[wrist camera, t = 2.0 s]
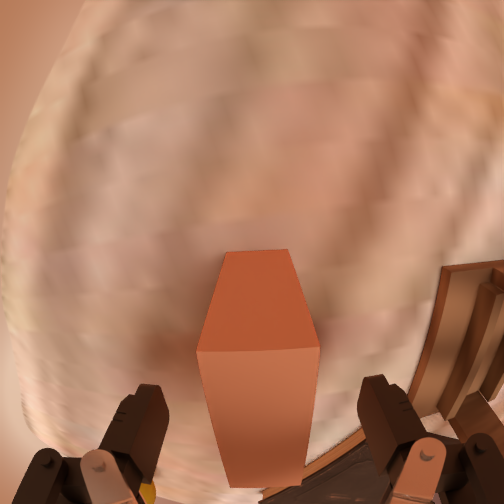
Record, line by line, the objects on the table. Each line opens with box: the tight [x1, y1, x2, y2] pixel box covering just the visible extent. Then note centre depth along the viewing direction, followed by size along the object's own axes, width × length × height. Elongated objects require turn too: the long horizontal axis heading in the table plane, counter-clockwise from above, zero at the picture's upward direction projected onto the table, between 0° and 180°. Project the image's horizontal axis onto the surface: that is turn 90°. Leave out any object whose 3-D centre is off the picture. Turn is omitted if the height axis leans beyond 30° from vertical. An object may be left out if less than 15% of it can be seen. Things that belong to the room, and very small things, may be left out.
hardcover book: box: [258, 428, 461, 504], centre depth 21 cm, size 16×23×2 cm
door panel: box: [196, 249, 320, 488], centre depth 12 cm, size 8×3×8 cm, turn 3°
